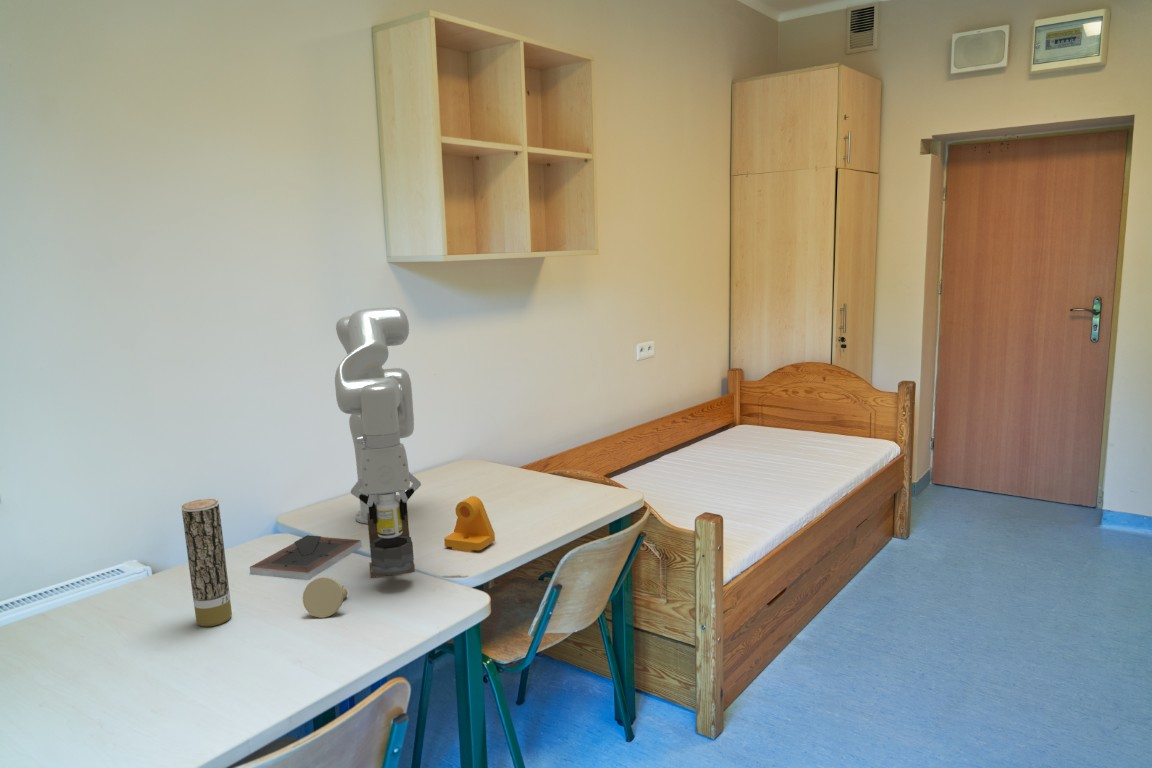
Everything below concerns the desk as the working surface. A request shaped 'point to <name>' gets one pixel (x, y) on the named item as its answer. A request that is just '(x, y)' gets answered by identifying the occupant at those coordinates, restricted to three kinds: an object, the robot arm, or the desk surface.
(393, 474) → the robot arm
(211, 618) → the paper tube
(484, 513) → the bracket
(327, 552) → the picture frame
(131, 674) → the desk surface
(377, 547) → the cup bracket
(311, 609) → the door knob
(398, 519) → the supplement bottle
